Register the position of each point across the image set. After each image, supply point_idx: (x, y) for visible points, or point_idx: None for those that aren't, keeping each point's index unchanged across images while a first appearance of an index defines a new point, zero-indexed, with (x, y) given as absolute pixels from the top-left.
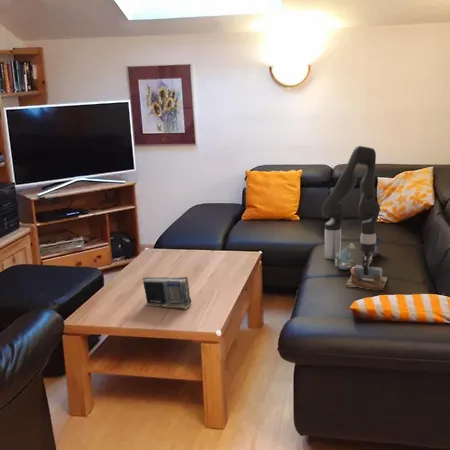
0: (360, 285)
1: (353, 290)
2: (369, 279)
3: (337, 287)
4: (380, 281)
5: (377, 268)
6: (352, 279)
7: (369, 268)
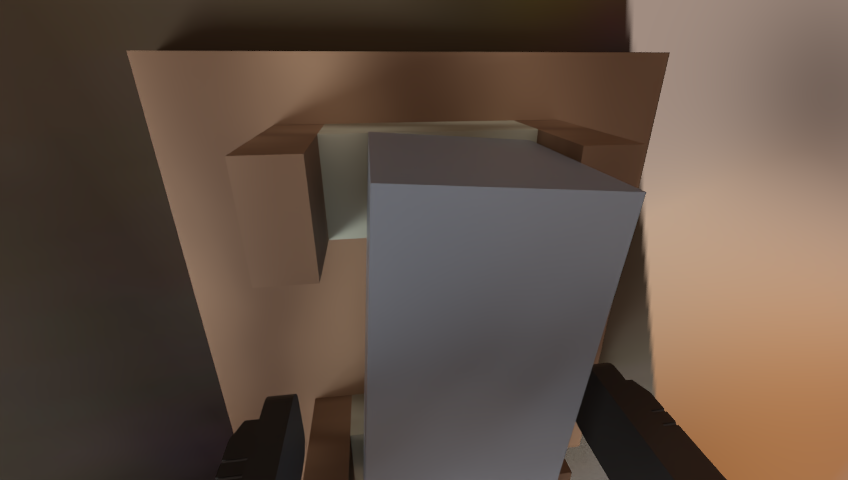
0: None
1: (643, 349)
2: (365, 292)
3: (584, 465)
4: (491, 125)
5: (464, 293)
6: None
7: (509, 439)
